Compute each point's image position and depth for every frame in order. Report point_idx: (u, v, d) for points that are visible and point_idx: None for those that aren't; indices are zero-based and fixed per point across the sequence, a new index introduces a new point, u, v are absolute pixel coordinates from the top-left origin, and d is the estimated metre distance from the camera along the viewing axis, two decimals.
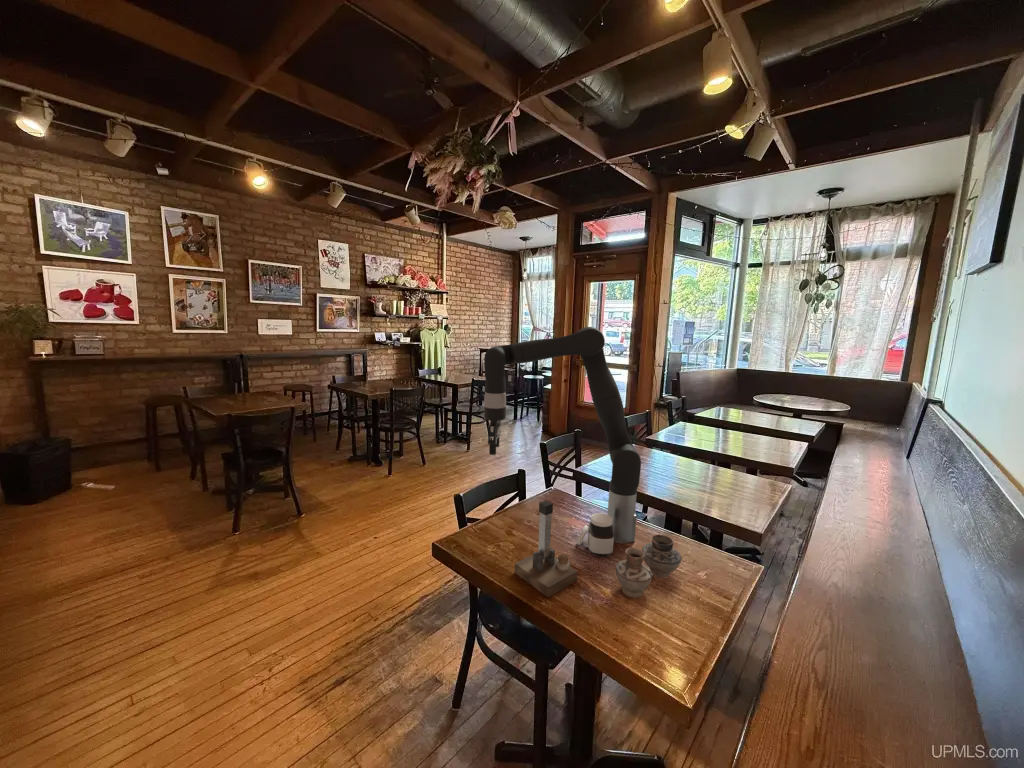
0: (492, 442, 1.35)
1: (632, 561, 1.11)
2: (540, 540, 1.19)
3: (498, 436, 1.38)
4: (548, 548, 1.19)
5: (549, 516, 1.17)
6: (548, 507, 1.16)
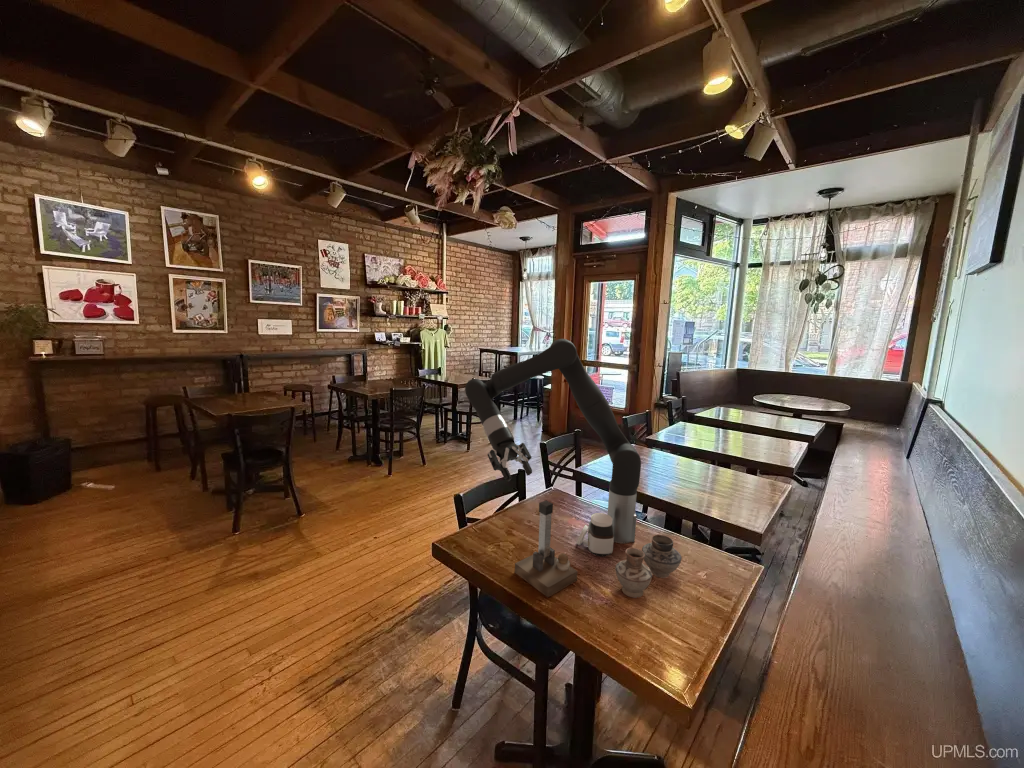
0: (495, 466, 1.23)
1: (632, 561, 1.11)
2: (540, 540, 1.19)
3: (507, 459, 1.25)
4: (548, 548, 1.19)
5: (549, 516, 1.17)
6: (548, 507, 1.16)
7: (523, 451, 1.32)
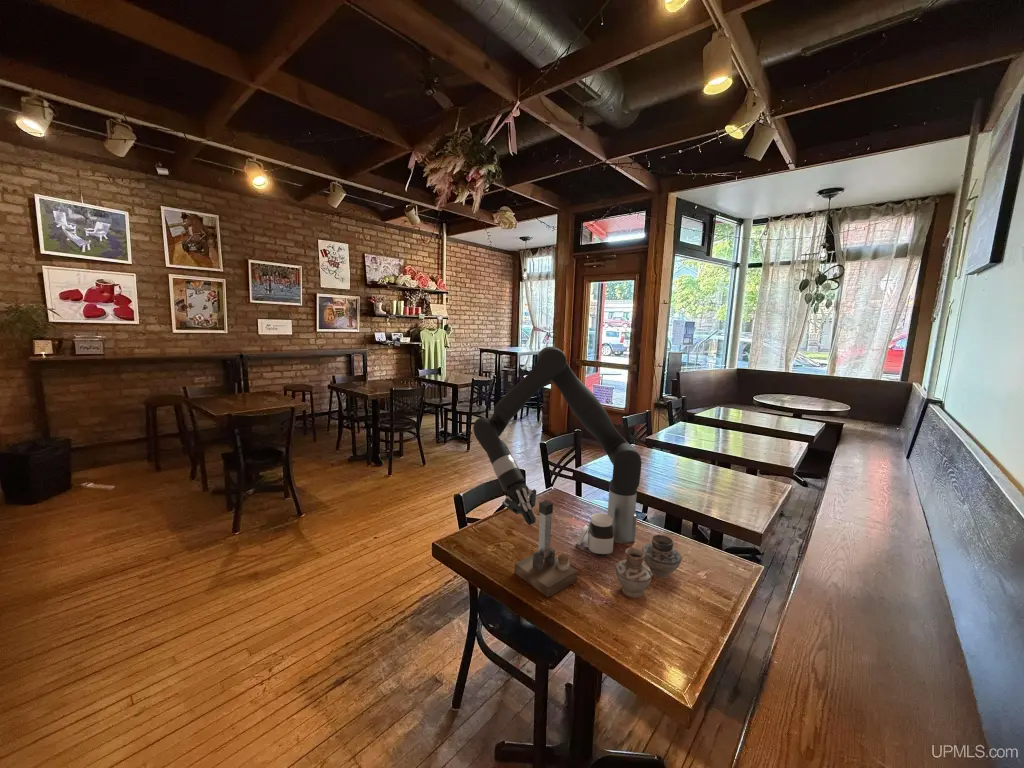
0: (517, 510, 1.23)
1: (632, 561, 1.11)
2: (540, 540, 1.19)
3: (524, 501, 1.24)
4: (548, 548, 1.19)
5: (549, 516, 1.17)
6: (548, 507, 1.16)
7: (531, 497, 1.28)
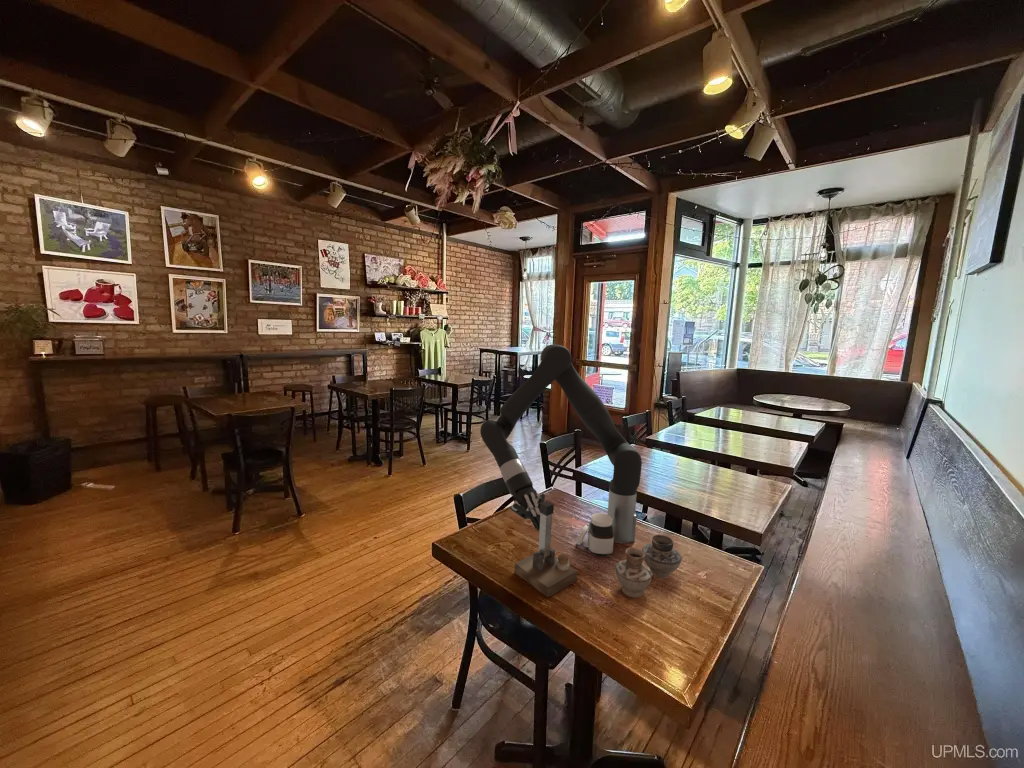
0: (526, 516, 1.20)
1: (632, 561, 1.11)
2: (540, 540, 1.19)
3: (532, 506, 1.22)
4: (548, 548, 1.19)
5: (549, 517, 1.17)
6: (549, 508, 1.16)
7: (539, 502, 1.25)
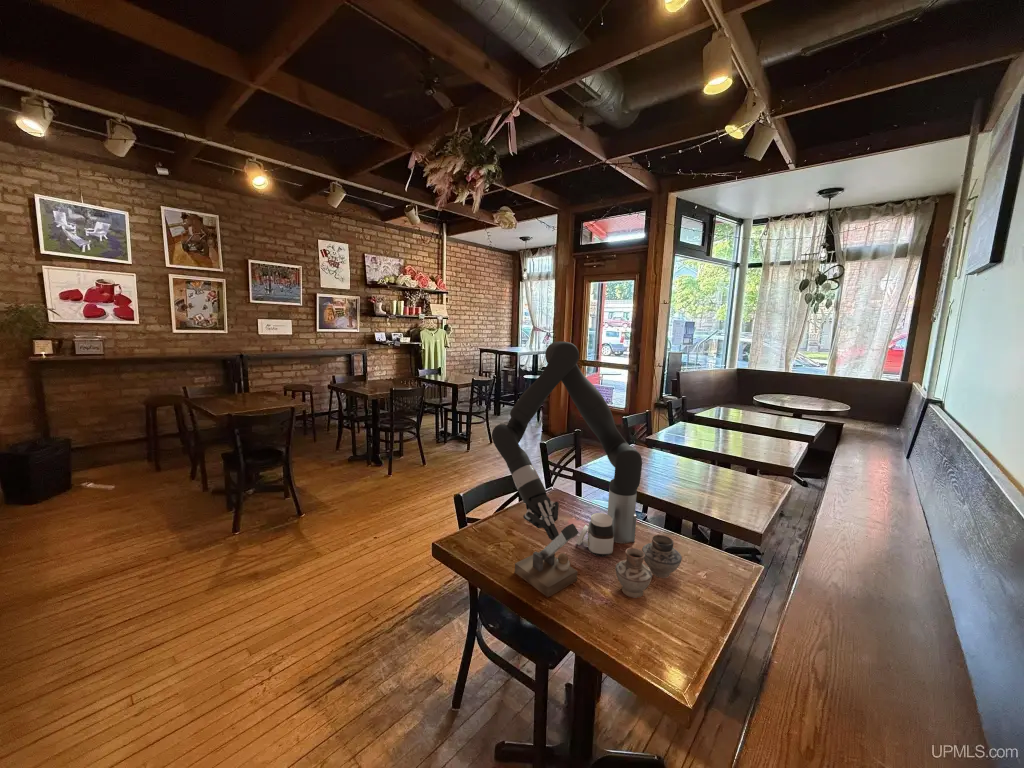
0: (539, 525, 1.16)
1: (632, 561, 1.11)
2: (548, 548, 1.17)
3: (546, 514, 1.17)
4: (551, 555, 1.18)
5: (568, 539, 1.12)
6: (573, 535, 1.10)
7: (553, 510, 1.21)
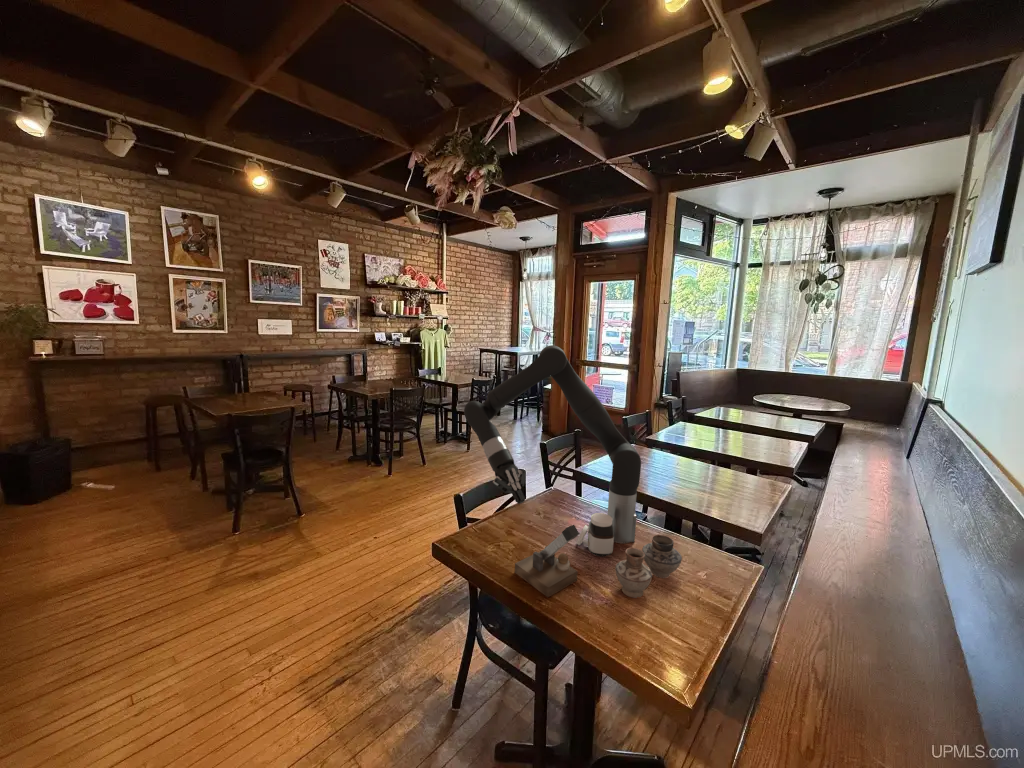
0: (507, 489, 1.26)
1: (632, 561, 1.11)
2: (548, 548, 1.17)
3: (513, 480, 1.27)
4: (551, 555, 1.18)
5: (569, 540, 1.12)
6: (573, 537, 1.10)
7: (520, 477, 1.31)
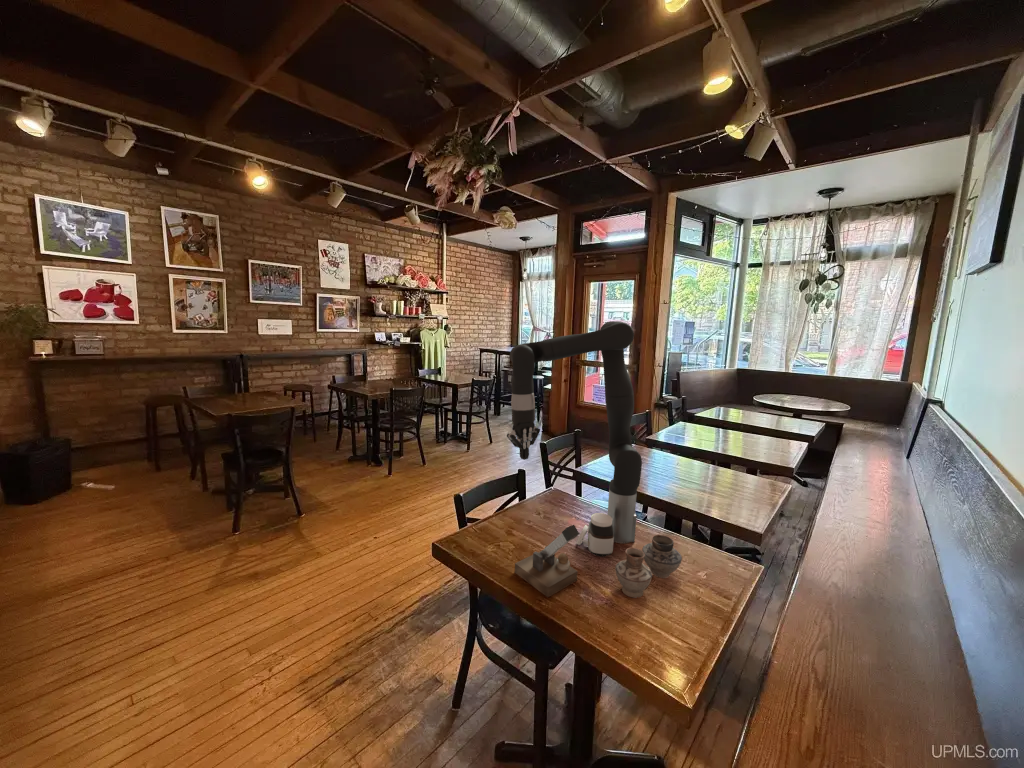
0: (517, 446, 1.31)
1: (632, 561, 1.11)
2: (548, 548, 1.17)
3: (526, 440, 1.31)
4: (551, 555, 1.18)
5: (569, 540, 1.12)
6: (573, 537, 1.10)
7: (533, 434, 1.35)
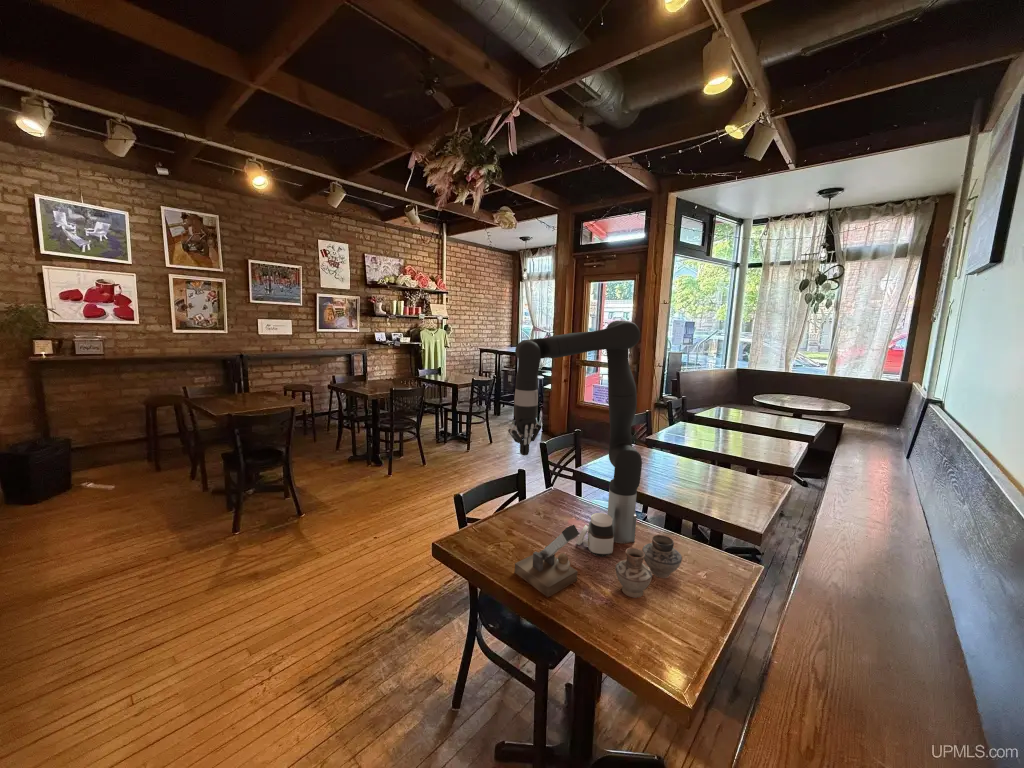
0: (518, 441, 1.31)
1: (632, 561, 1.11)
2: (548, 548, 1.17)
3: (527, 436, 1.31)
4: (551, 555, 1.18)
5: (569, 540, 1.12)
6: (573, 537, 1.10)
7: (534, 431, 1.34)
